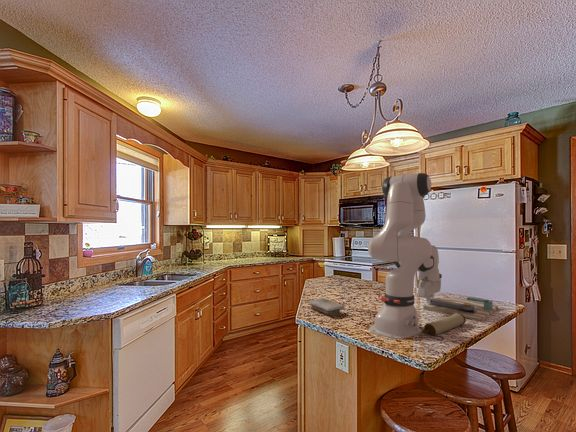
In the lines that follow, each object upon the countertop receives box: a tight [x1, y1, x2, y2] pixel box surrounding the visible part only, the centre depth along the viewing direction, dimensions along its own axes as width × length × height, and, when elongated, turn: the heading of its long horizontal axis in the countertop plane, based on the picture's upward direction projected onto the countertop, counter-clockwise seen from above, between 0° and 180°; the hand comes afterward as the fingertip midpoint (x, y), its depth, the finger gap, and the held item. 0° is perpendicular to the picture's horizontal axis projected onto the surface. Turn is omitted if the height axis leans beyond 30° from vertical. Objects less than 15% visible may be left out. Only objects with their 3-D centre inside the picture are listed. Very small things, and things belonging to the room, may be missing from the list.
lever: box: [427, 298, 474, 312], centre depth 154 cm, size 21×6×3 cm, turn 44°
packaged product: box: [307, 297, 345, 316], centre depth 152 cm, size 18×5×10 cm
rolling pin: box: [422, 313, 467, 337], centre depth 128 cm, size 32×6×5 cm, turn 124°
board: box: [423, 296, 499, 322], centre depth 157 cm, size 29×26×2 cm
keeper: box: [466, 296, 493, 311], centre depth 153 cm, size 3×10×4 cm, turn 44°
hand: (429, 302), depth 157 cm, fingers closed
